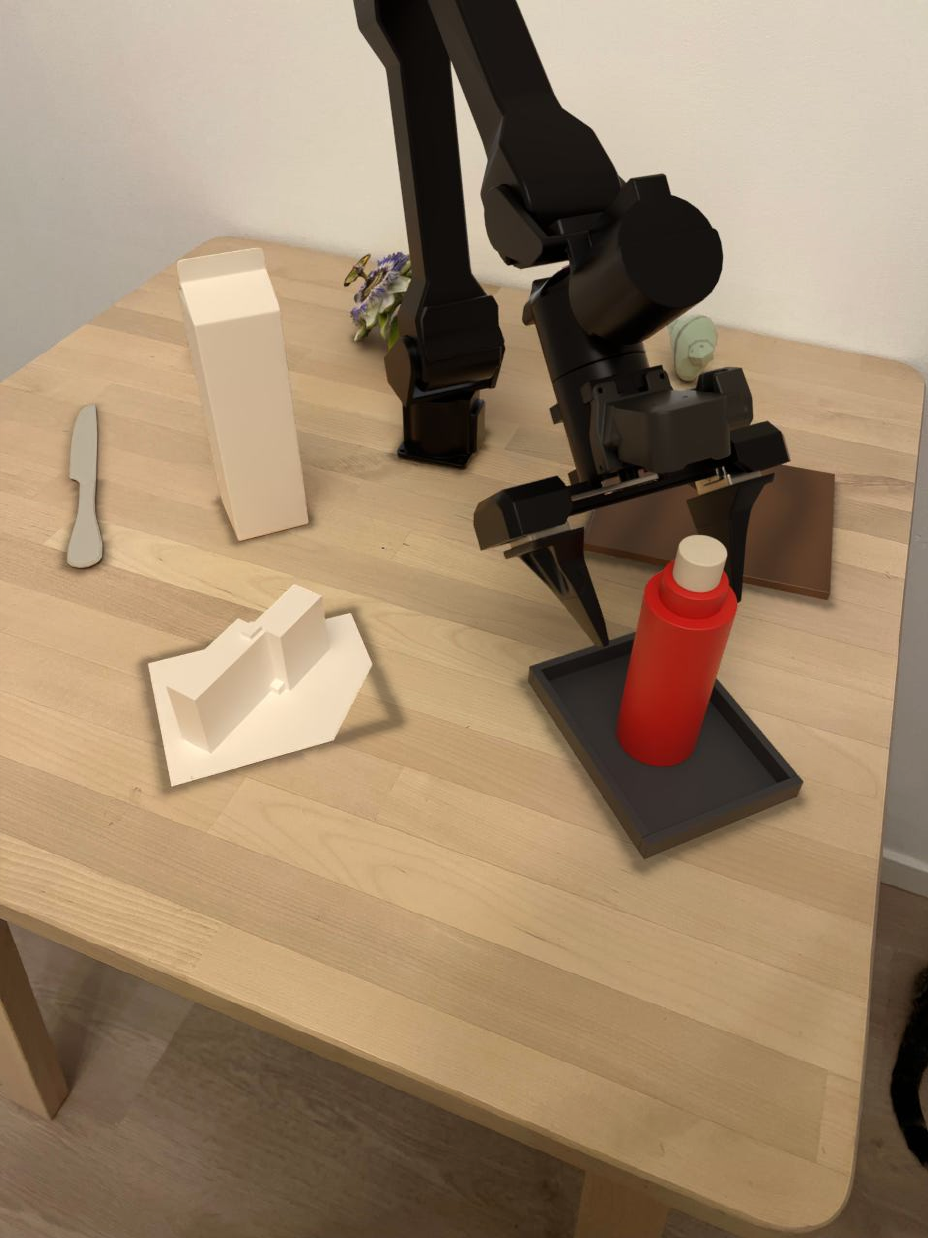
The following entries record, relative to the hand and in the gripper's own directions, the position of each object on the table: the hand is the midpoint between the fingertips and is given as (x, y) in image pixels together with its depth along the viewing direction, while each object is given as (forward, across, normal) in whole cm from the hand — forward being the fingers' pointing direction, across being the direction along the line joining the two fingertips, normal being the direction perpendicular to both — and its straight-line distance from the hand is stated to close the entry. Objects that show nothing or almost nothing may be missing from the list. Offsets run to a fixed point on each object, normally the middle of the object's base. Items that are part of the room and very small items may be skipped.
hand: (670, 624), depth 56 cm
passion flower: (-32, +4, +46) cm, 56 cm away
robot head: (-19, +28, +33) cm, 47 cm away
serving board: (-5, +17, +19) cm, 26 cm away
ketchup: (+7, 0, +6) cm, 9 cm away
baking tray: (+8, 0, +6) cm, 10 cm away
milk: (-16, -17, +30) cm, 38 cm away
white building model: (-2, -22, +16) cm, 28 cm away
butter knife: (-23, -30, +37) cm, 53 cm away
